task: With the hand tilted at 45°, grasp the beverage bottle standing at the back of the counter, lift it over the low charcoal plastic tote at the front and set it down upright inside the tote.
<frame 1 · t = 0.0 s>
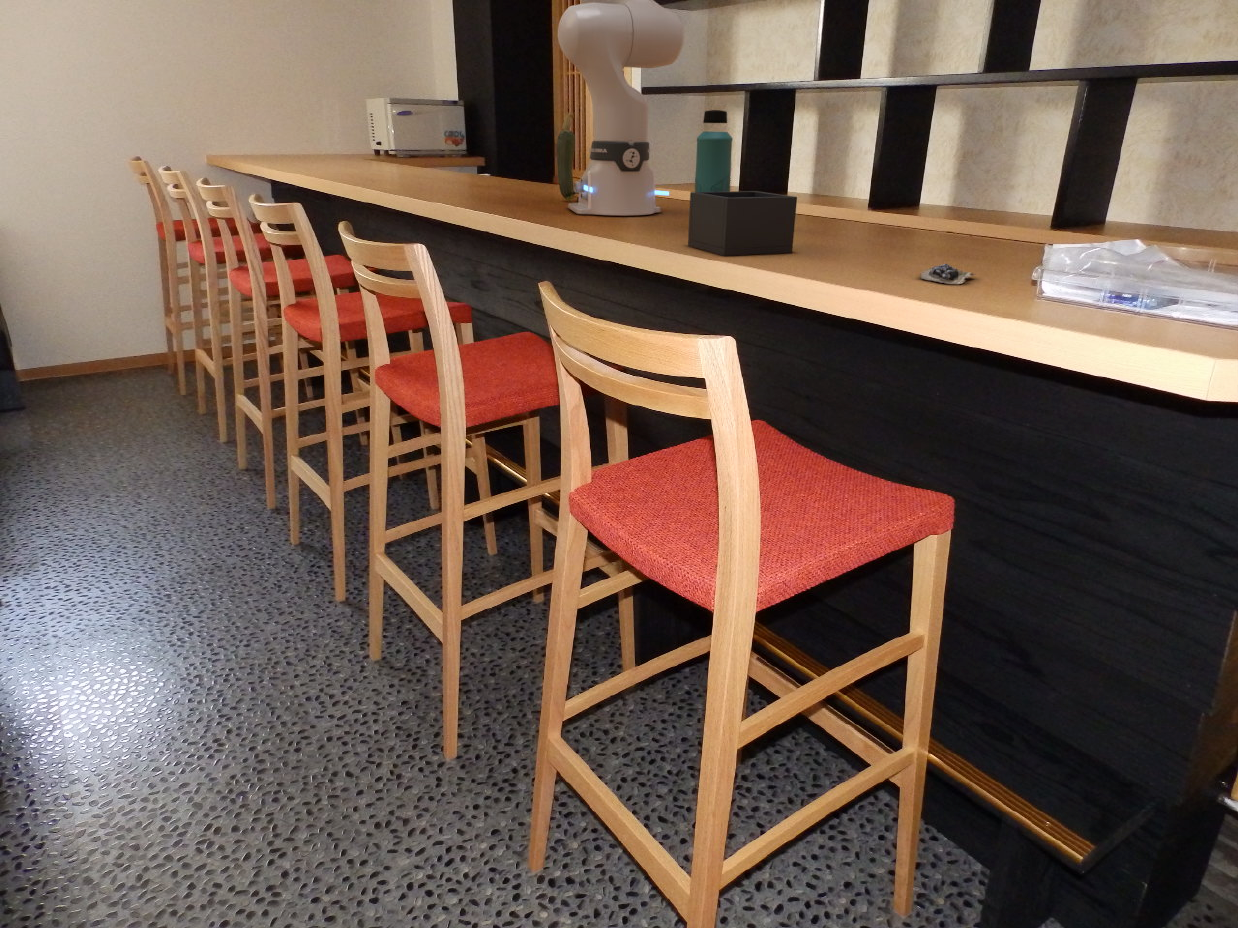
tote: (738, 249, 128), on the table
beverage bottle: (710, 230, 153), on the table
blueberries: (947, 281, 105), on the table
vegetable: (566, 202, 204), on the table
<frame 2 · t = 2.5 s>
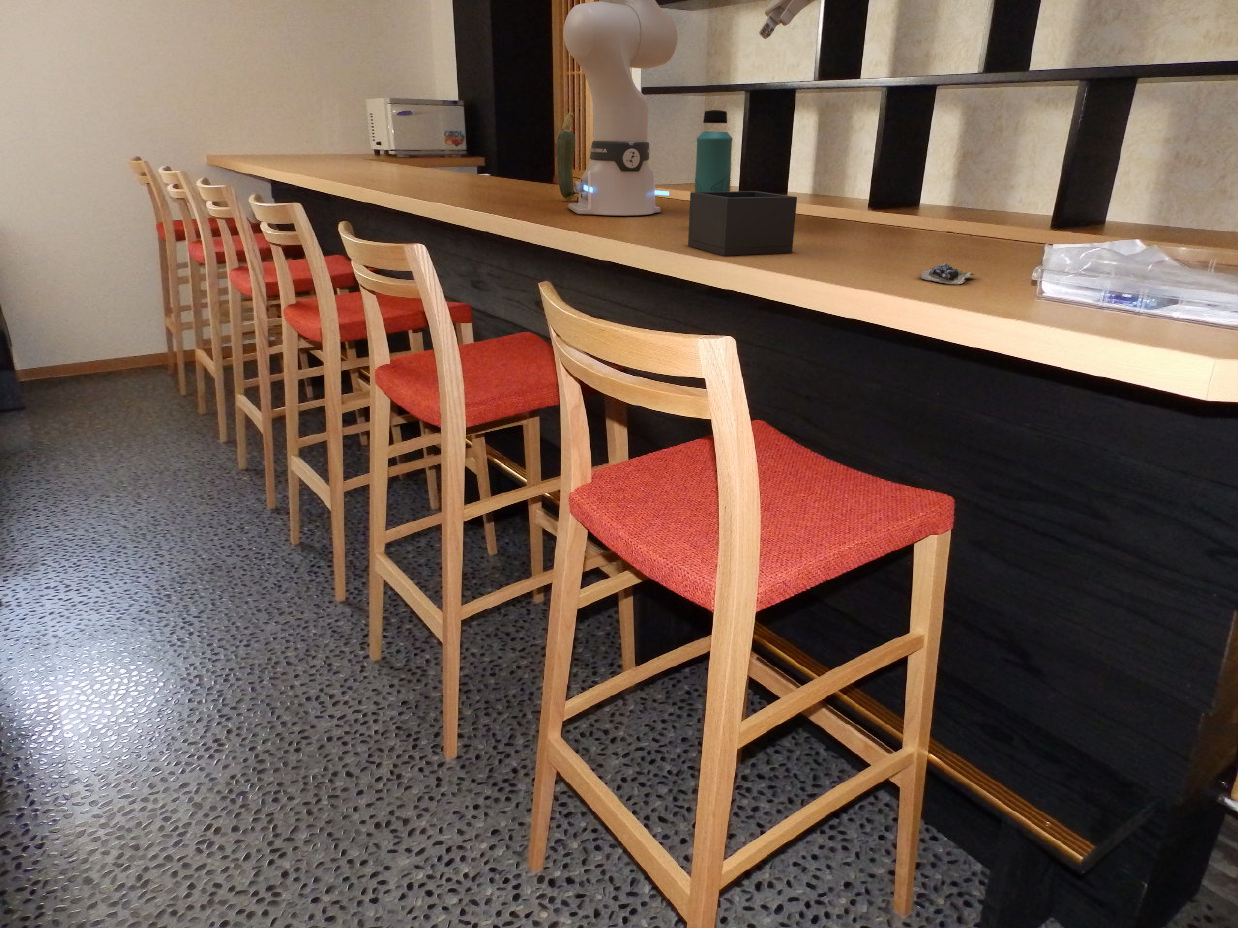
hand: (772, 29, 143), 33 cm above the table, tool tilted 40°, fingers open, 8 cm apart
nothing on the table moved.
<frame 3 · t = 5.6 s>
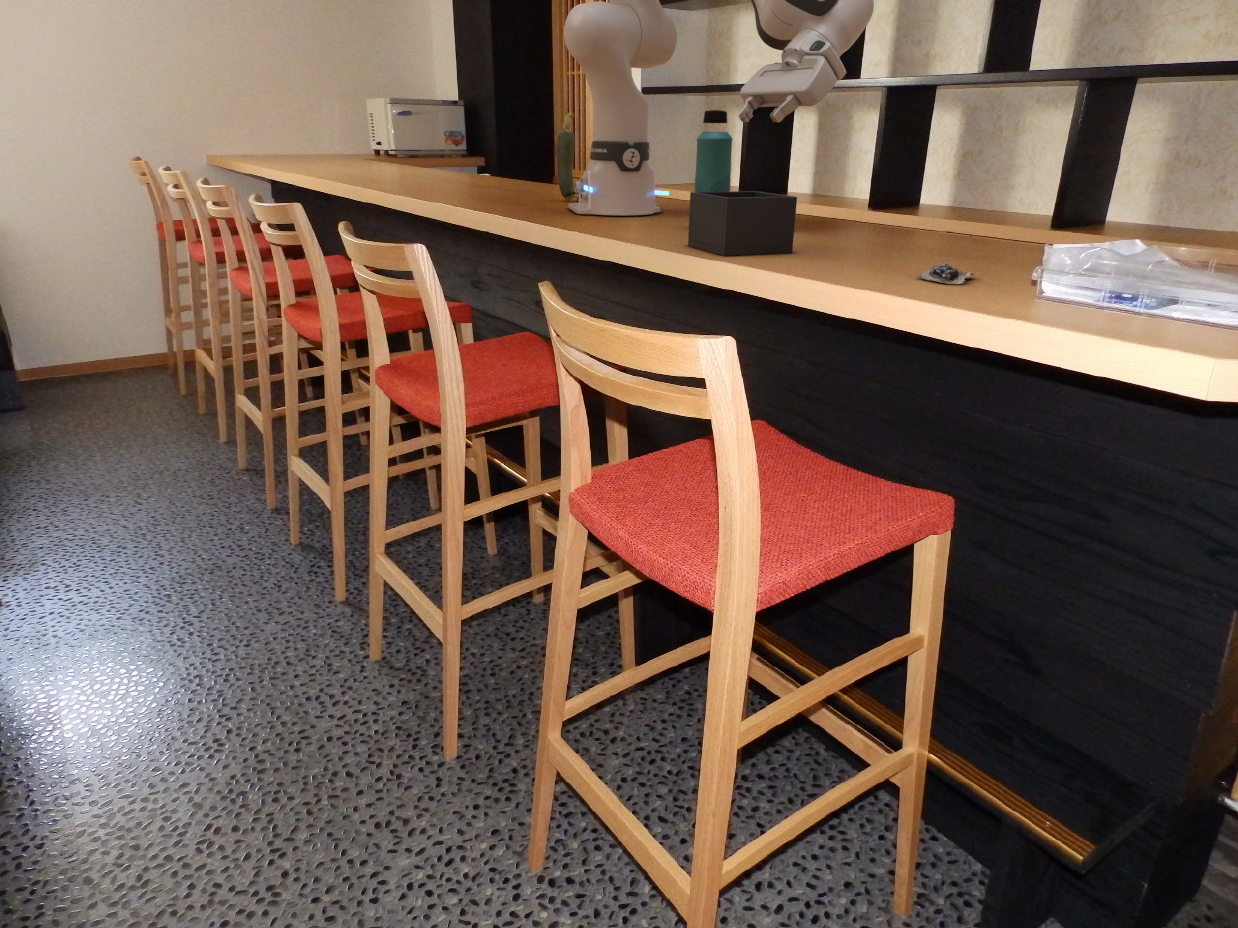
hand: (757, 119, 150), 19 cm above the table, tool tilted 45°, fingers open, 8 cm apart
nothing on the table moved.
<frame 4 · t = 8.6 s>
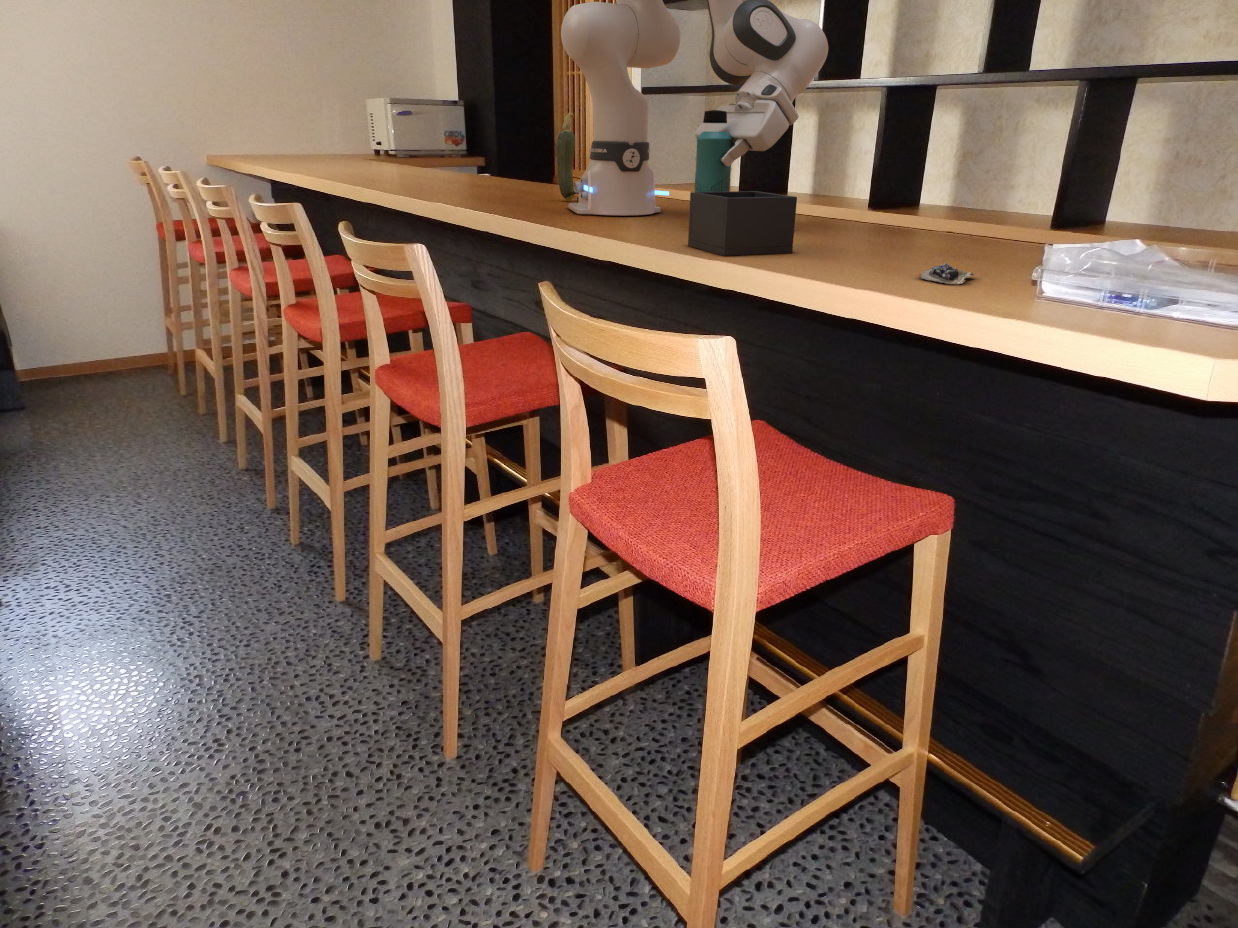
hand: (710, 162, 148), 11 cm above the table, tool tilted 45°, fingers closed on beverage bottle, 6 cm apart
beverage bottle: (710, 230, 153), on the table, touching gripper
everything else where it was.
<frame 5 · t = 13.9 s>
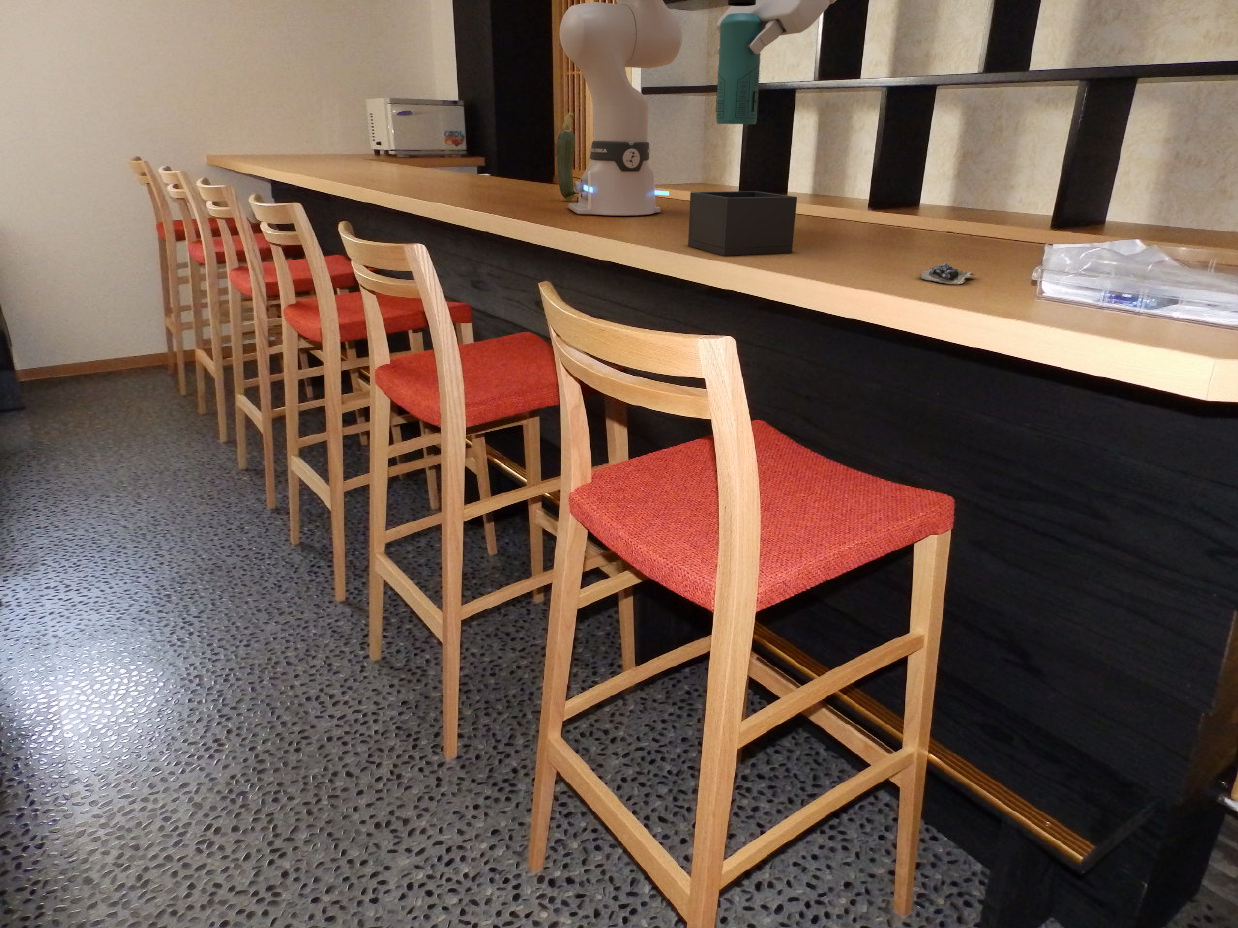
hand: (736, 53, 126), 28 cm above the table, tool tilted 45°, fingers closed on beverage bottle, 6 cm apart
beverage bottle: (735, 135, 131), point 16 cm above the table, touching gripper
everything else where it was.
when the fingers open (12 cm above the table, at t = 19.7 s): beverage bottle stays where it is, point 1 cm above the table.
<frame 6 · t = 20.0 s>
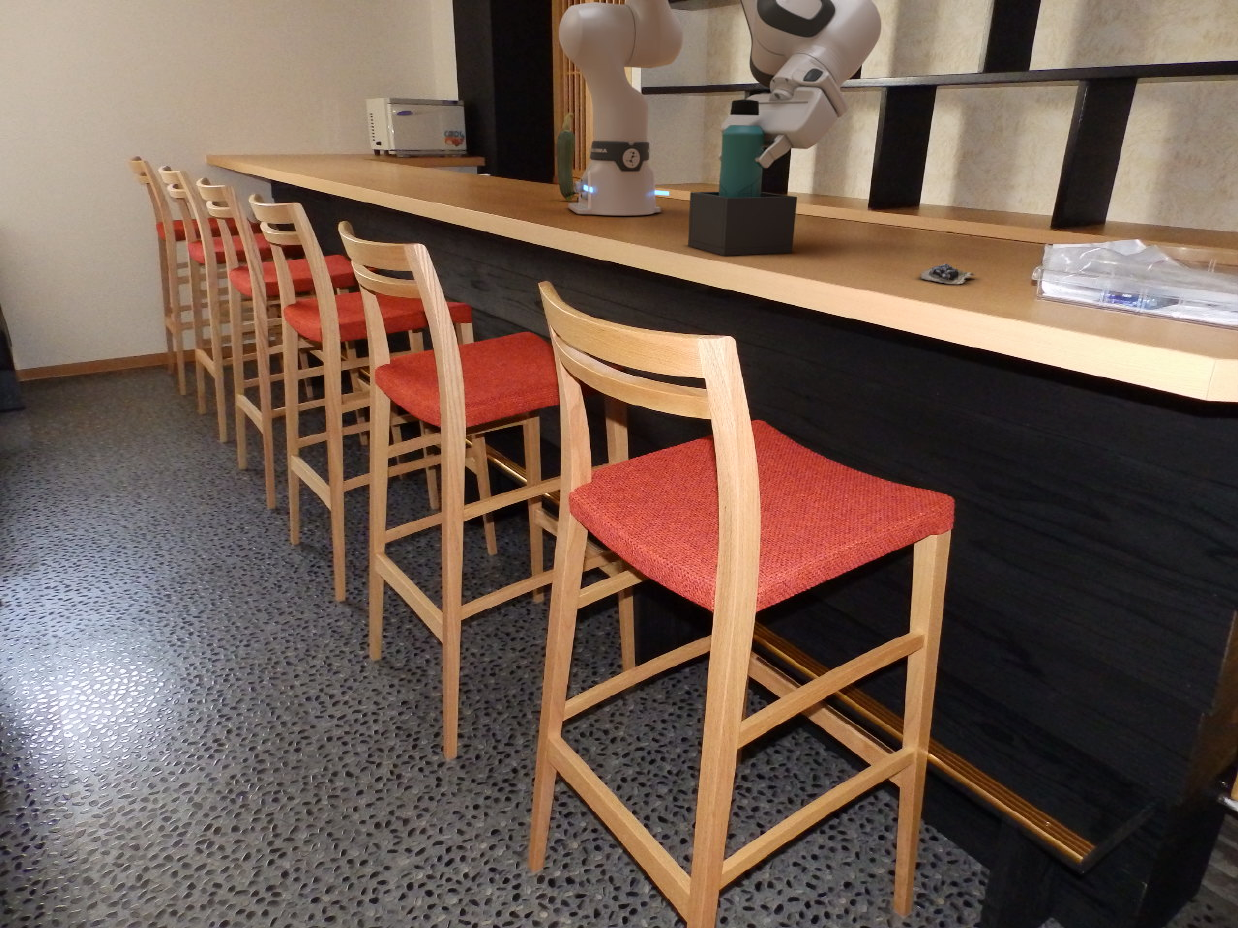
hand: (741, 163, 123), 12 cm above the table, tool tilted 45°, fingers open, 8 cm apart
beverage bottle: (736, 242, 129), point 1 cm above the table, touching gripper
everything else where it was.
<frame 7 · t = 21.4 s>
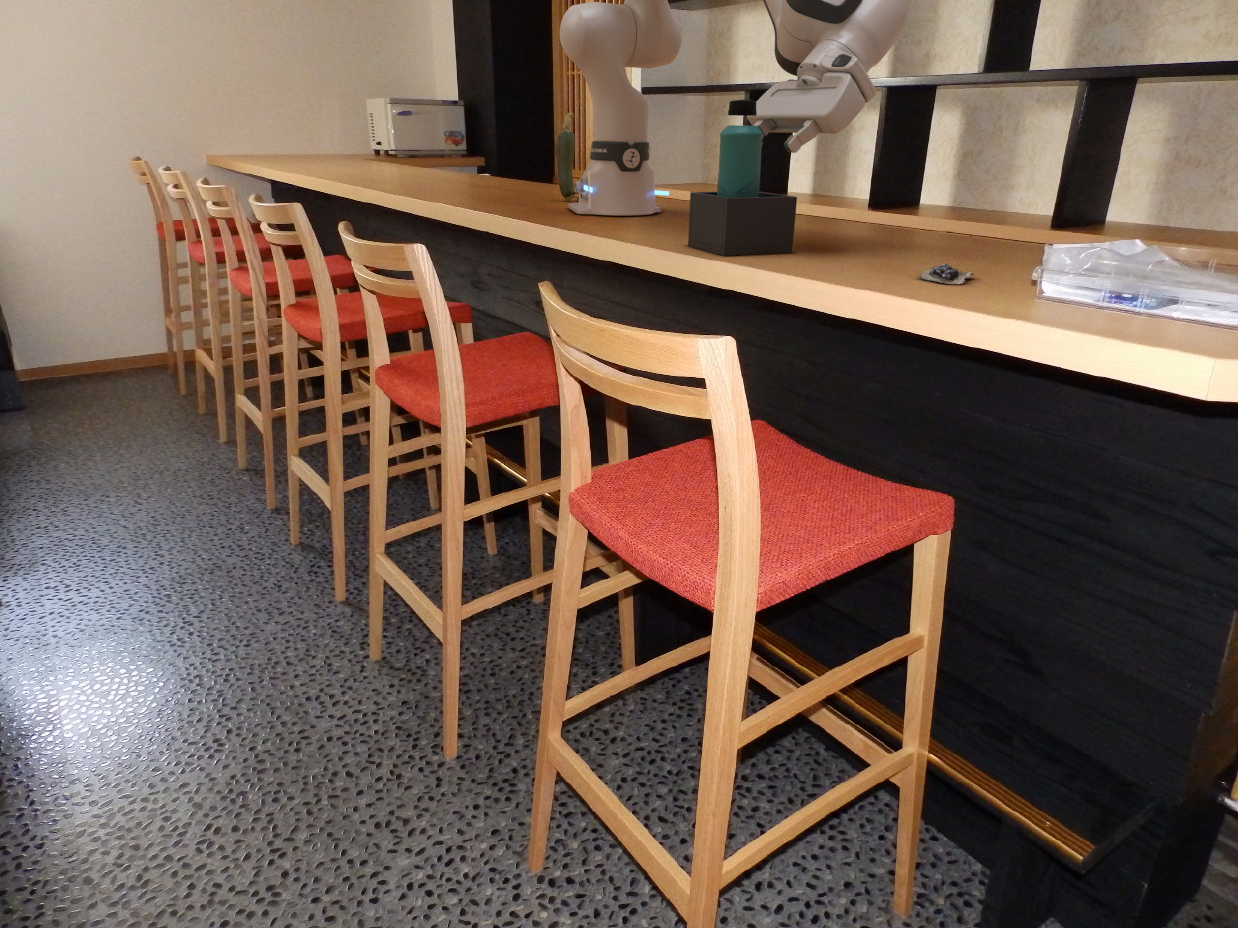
hand: (768, 148, 125), 14 cm above the table, tool tilted 45°, fingers open, 8 cm apart
beverage bottle: (734, 242, 129), point 1 cm above the table, touching tote
everything else where it was.
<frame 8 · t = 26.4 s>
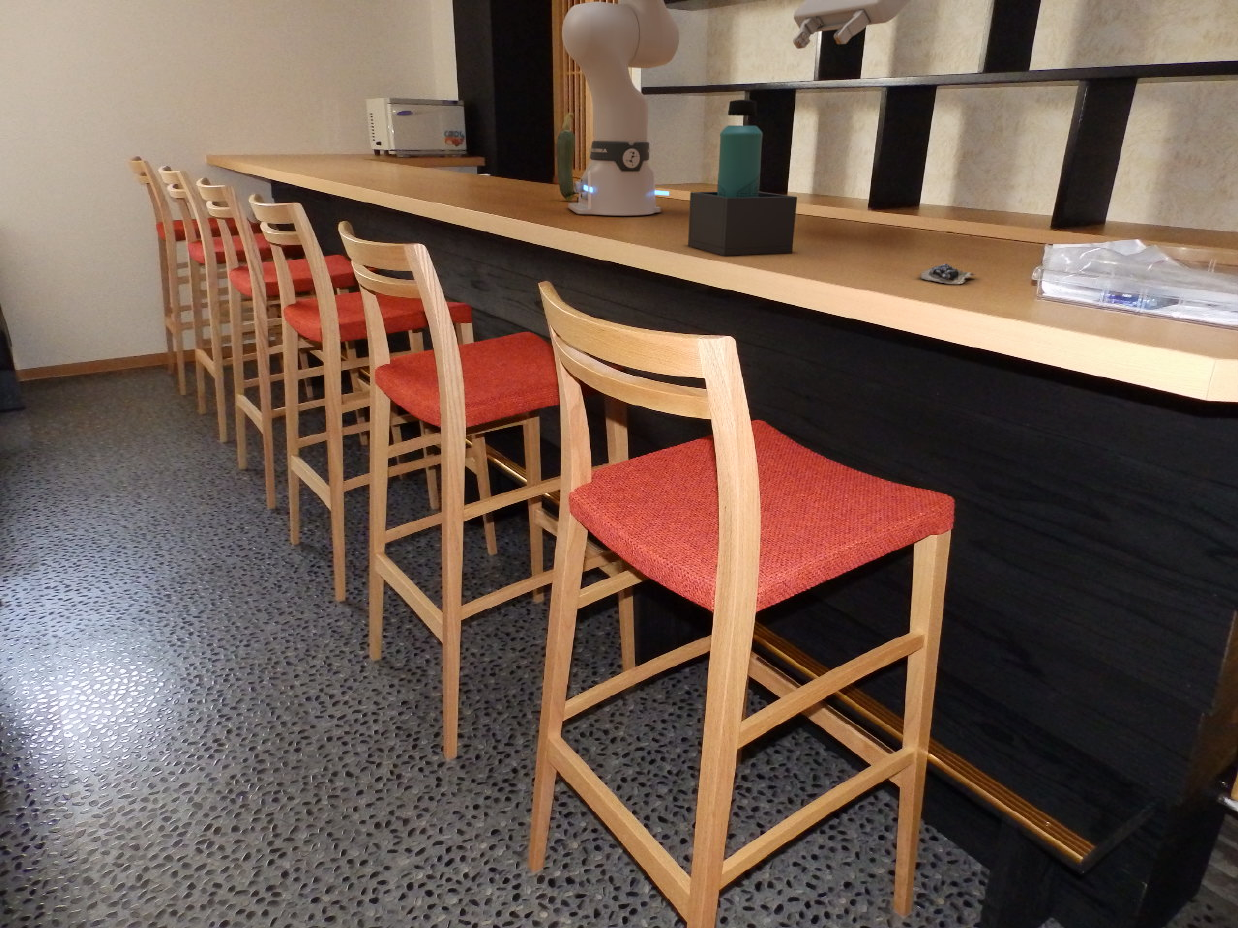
hand: (817, 43, 128), 29 cm above the table, tool tilted 45°, fingers open, 8 cm apart
nothing on the table moved.
at the end: beverage bottle inside the target area in the tote (1.3 cm from its centre), point 0.8 cm above the tote's base; beverage bottle tilted 0°; the gripper is holding nothing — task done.
